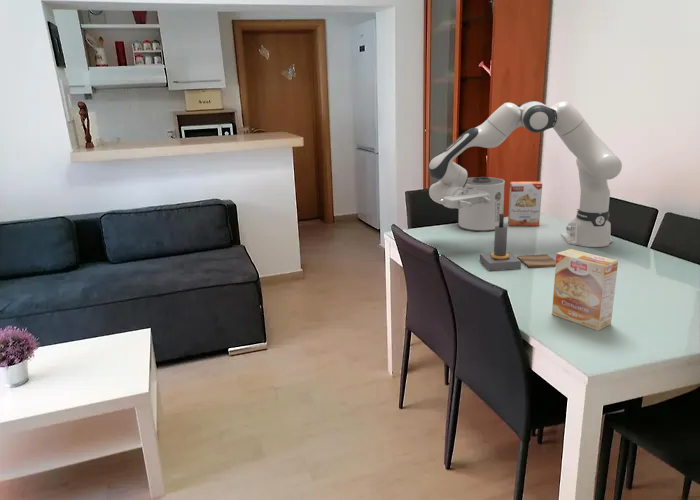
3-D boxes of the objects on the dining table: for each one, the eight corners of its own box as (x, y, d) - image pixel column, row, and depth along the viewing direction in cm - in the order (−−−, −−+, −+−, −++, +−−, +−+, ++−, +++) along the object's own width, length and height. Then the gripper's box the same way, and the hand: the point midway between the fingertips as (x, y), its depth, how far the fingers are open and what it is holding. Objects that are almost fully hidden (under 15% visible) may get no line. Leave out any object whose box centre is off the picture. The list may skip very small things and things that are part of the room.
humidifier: (465, 233, 247) (466, 184, 240) (451, 222, 266) (452, 176, 260) (509, 229, 249) (512, 180, 242) (492, 219, 269) (494, 173, 262)
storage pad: (516, 258, 210) (517, 256, 209) (546, 256, 210) (546, 254, 210) (528, 268, 198) (528, 265, 198) (559, 266, 199) (560, 263, 198)
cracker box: (509, 226, 255) (511, 183, 248) (507, 223, 260) (509, 181, 254) (539, 226, 252) (542, 183, 246) (537, 223, 258) (540, 180, 252)
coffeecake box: (550, 314, 159) (555, 252, 153) (565, 308, 163) (570, 247, 157) (597, 331, 147) (604, 265, 141) (611, 324, 151) (619, 259, 145)
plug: (488, 262, 206) (490, 212, 200) (504, 261, 207) (507, 211, 201) (494, 268, 200) (496, 216, 194) (510, 266, 200) (513, 215, 195)
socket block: (479, 260, 209) (479, 253, 208) (509, 258, 209) (509, 251, 208) (489, 270, 197) (489, 263, 196) (520, 268, 198) (521, 261, 197)
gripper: (436, 193, 214) (458, 198, 202) (476, 187, 222) (499, 192, 211) (436, 208, 215) (458, 214, 204) (476, 201, 224) (498, 207, 212)
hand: (479, 203), depth 207 cm, fingers open, 8 cm apart
